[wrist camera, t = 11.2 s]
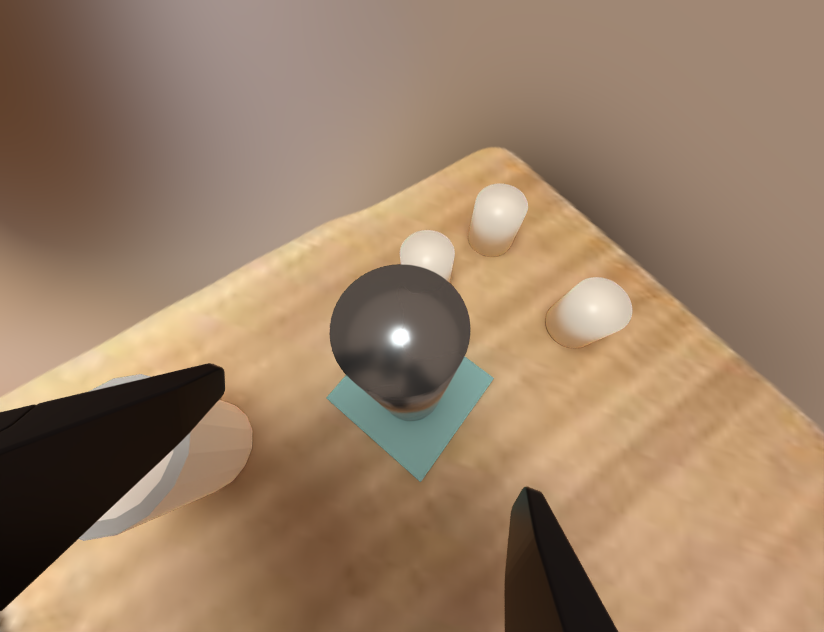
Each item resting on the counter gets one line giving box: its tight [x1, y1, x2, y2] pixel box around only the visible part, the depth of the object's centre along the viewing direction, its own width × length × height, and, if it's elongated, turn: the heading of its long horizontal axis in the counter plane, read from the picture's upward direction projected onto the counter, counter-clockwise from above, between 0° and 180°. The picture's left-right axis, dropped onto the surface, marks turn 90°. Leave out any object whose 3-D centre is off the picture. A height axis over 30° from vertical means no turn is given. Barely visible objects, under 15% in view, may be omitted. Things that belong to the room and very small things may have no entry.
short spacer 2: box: [545, 277, 632, 348], centre depth 21 cm, size 4×4×4 cm
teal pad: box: [327, 357, 494, 482], centre depth 21 cm, size 8×8×1 cm
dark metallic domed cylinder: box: [330, 264, 470, 421], centre depth 15 cm, size 4×4×13 cm
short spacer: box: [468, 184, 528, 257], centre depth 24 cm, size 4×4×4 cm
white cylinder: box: [79, 374, 253, 541], centre depth 17 cm, size 7×7×7 cm
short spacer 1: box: [400, 230, 455, 283], centre depth 23 cm, size 4×4×4 cm
